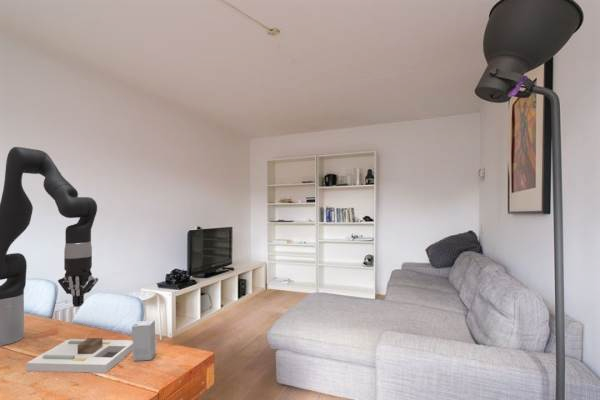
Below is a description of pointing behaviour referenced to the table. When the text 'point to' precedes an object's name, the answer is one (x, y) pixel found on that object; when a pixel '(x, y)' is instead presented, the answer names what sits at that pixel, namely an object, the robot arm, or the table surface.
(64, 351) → the board
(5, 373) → the table surface
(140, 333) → the skincare box
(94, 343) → the walnut block
